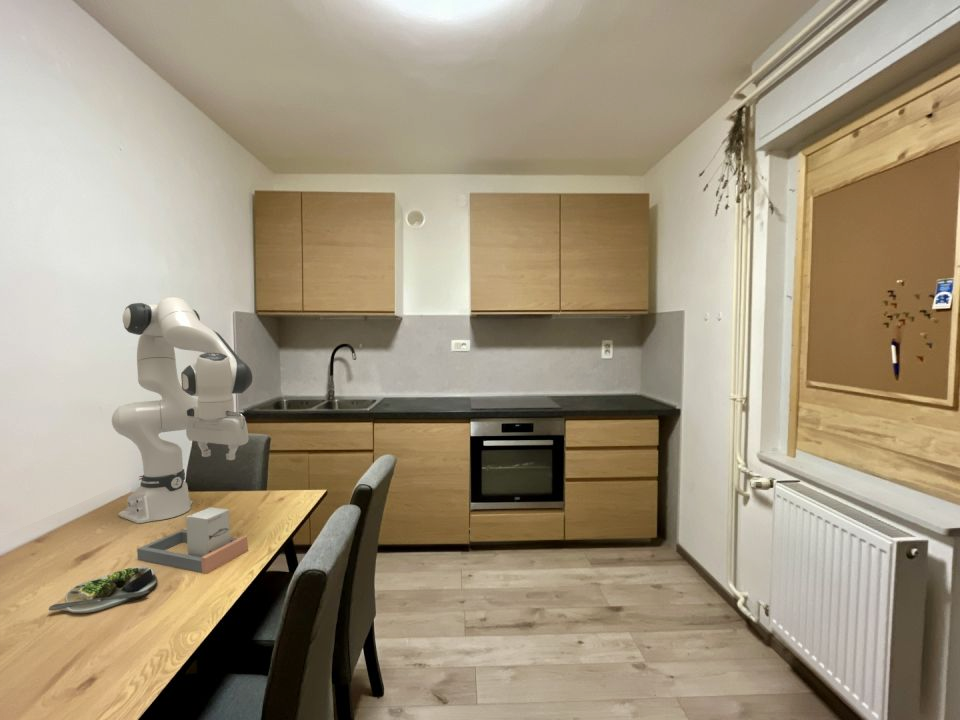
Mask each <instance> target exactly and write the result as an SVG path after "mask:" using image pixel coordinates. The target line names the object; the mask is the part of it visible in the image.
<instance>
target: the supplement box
mask: <svg viewBox="0 0 960 720" xmlns="http://www.w3.org/2000/svg"><path fill="white" fill-rule="evenodd" d="M185 521H186V530H187V543H186V544H187V555H191V556H196V557H203V556H205V555H207V554H209V553H211V552H213V551H215V550H217V549H219V548H221V547H222V546H224V545H226V544H228V543H230V537H231V530H230V529H231V527H230V526H231V525H230V509H227V508H219V507H213V506H212V507H211V506H209V507H207V508H204V509H203V510H200V511H197V512H194V513H192V514H190V515H187V516H186V519H185Z"/></svg>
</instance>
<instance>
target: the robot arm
mask: <svg viewBox="0 0 960 720" xmlns="http://www.w3.org/2000/svg"><path fill="white" fill-rule="evenodd" d="M122 323H123V326H124V327H123V328H124V329H125V331H127V332H128V333H129V334H133V335H137V336H139V338H138V341H137V342H138V343H137V347H136V349H137V350H136V365H137V366H136V367H137V381H138V384H139V386H140V387H141V388H143V389H144V390H147V391H149V392H152V393H157V395H159V396H160V397H161V398H162V399H159V400H149V401H136V402H132V403H128V404H124V405H119V406H118V407H117V408H116V409H115V410H114V411H113V413H112V416H111V425H112V427H113V429H114V430H115V432H117V434H119V435H121V436H123V437H125V438H127V439H129V440H130V441H131V442H132V443H133V444H135V446H136V447H137V449H138V451H139V452H140V456H141V462H142V469H143V470H142V471H143V475H140V476H138V481H140V484H139V485H140V486H139V487H137V488H136V489H135V491H134V492H132V493H131V494H130V495H129V496H128V497H127V500H126V508H125V509H123V510H121V511H119V513H118V516H119V517H121V518H122V519H126V520H129V522H130V521H131V522H133V523H136V524H143V523H148V522H154V521H162V520H167V519H172V518H174V517H178V516H180V515H183V514H185V513H188V512H189V511H190V510H191V508H192V506H193V504H192V503H193V500H191V499H190V494H189V489H188V488H189V487H188V483H187V482H186V481H185V479H186V471H185V469H184V467H183V465H184V464H183V450H182V448H181V447H180V446H179V445H178V444H177V443H175V442H171V441H167V440H164V439H162V438H161V437H159V434H161V433H166V432H168V433H170V432H176V431H185V434H186V437H187V439H188V440H189V441H192V442H197V446H198V447H199V449H200V451H201V457H204V458H208V457H210V456H211V455H212V453H211V452H212V451H211V449H209V447H208V444H216V445H224V446H225V445H227V446H228V447H227V448H228V449H229V450H228V452H227V453H225V458H226V461H234V460H236V452H237V450H238V449H239V447H240V446H243V445H246V444H248V442H249V440H250V439H249V429H248V424H247V421H246V417H245V416H244V415H243V414H242V412H239V411H235V408H234V396H233V395H234V394H243V393H244V392H245V391H246V390H248V389H249V387H250V386H251V385H252V383H253V374H252V373H253V372H252V370H251V368H250V366H249V365H248V364H247V363H246V362H244V361H243V360H242V359H241V358H239V356H238V354H236V352H235V351H234V350H233V349H232V348H231V346H230V345H229V344H228V342H227V341H226V340H225V339H224V338H223V337H222V335H221V334H220V333H219V332H217V331H216V330H213V329H211V328H210V327H208V326H206V325H205V324H204V323H203V322H201V318H200V314H199V313H198V311H197V310H195V309H193V308H192V307H191V305H190V304H189V302H187V301H186V300H185V299H183V298H180V297H176V296H171V297H170V296H169V297H166V298H163V299H162V300H161V301H159V303H158V304H157V303H143V302H136V303H130V304H129V305H127V306H126V307H125V308H124V311H123V313H122ZM175 349H178V350H183V351H193V352H199V353H202V354H199V355H198V356H197V359H196V362H195V363H193V364H190V365H187V366H186V367H185V368H184V369H183V371H182V372H181V376H180V377H181V384H180V379H179V376H178V371H177V370H178V369H177V360H176V352H175ZM194 397H197V398H194Z"/></svg>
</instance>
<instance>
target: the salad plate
mask: <svg viewBox="0 0 960 720" xmlns="http://www.w3.org/2000/svg"><path fill="white" fill-rule="evenodd" d="M157 584H158V578H157V575H156V573H155V571H154V569H152V567H150V566H143V565H142V566H134V567H128V568H125V569H121V570H118V571H115V572H113V573H110V574H108V575H104V576H101V577H97V578H93V579H91V580H87V581H84V582H81V583H79V584H77V585H75V586H74V587H73V588H71V589H70V590H69V591H68V592H67V593H66V594H65V602H63V603H55V604H52V605H50V606H49V607H48V611H52V612H53V611H67V612H70V613H78V614H80V613H81V614H83V613H84V614H87V613H96V612H99V611H103V610H106V609H109V608H112V607H115V606H119V605H121V604H125V603H129V602H132V601H134V600H137V599H140V598H142V597H145V595H147V594H150V592H152V591H153V590H154V589H155V588H156V586H157Z"/></svg>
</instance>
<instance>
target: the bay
mask: <svg viewBox="0 0 960 720" xmlns="http://www.w3.org/2000/svg"><path fill="white" fill-rule="evenodd" d="M248 541H249V539H248V536H247V535H242V536H240V537H238V538H237V537H231V536H230V543H228V544H226V545H224V546H222V547H221V548H219V549H217V550H215V551H213V552H211V553H209V554H207V555H205V556H203V557H196V556H191V555H188V554H186V553H185V554H184V553H180V552H175V551H168V549H170V548H171V547H172V548H173V547H174V546H176V545H178V544H180V543H186V544H187V529H183V528H182V529H179V530H178V531H175V532H173V533H171V534H168V535H167V536H164V537H162V538H159V539H157V540H154V541H153V542H149V543H148V544H145V545H143V546H141V547H138V548H137V549H136V550H137V560H138V561H142V562H147V563H148V562H149V563H151V564H158V565H162V566H168V567H173V568H175V569H176V568H177V569H182V570H187V571H192V572H196V573H202V574H206V575H207V574H208V573H210V572H212V571H213V570H214V571H215V570H216V569H217V567H218V568H219V567H221V566H223V565H225V564H226V562H227V563H228V562H229V561H232V560H234V559H235V558H237V557H239V556H241V555H243V554H244V553H247V552H248V551H249V544H248ZM215 568H216V569H215Z"/></svg>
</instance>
